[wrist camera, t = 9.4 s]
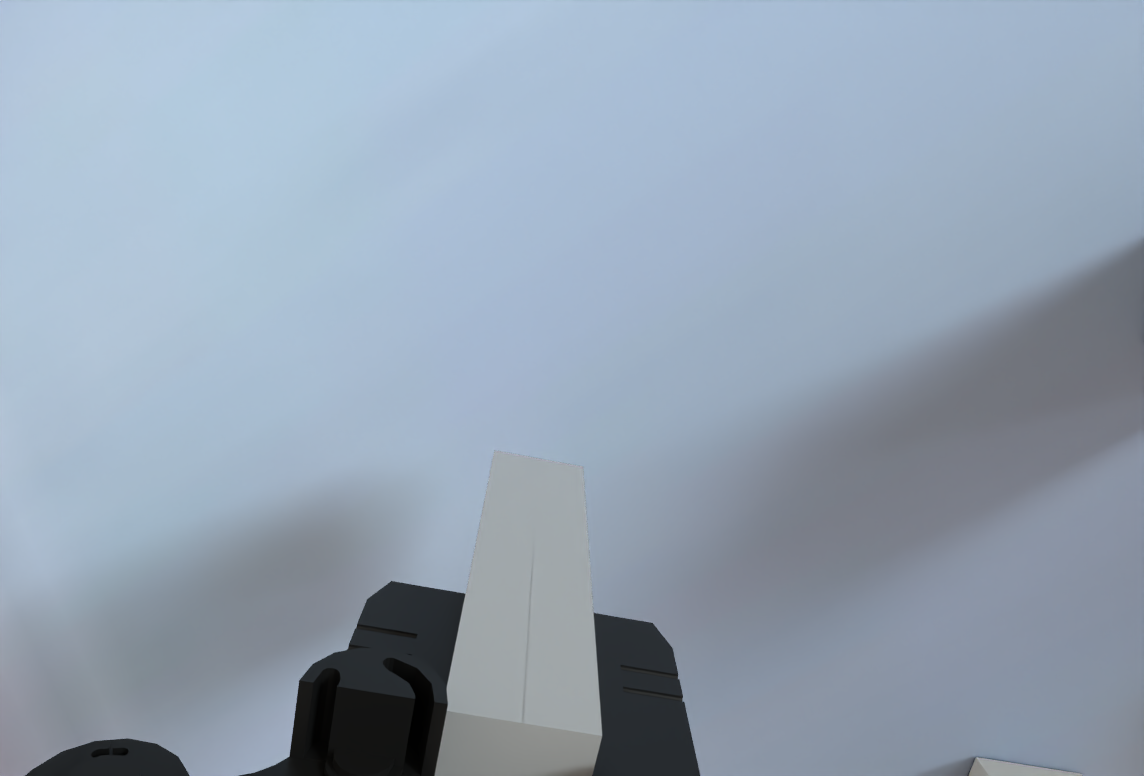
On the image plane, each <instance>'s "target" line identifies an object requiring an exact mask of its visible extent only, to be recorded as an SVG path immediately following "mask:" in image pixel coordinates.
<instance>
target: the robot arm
mask: <svg viewBox="0 0 1144 776" xmlns="http://www.w3.org/2000/svg"><path fill="white" fill-rule="evenodd" d="M682 698H683V694H682V690H681V685H680V681H679V680H678V671H677V667H676V662H675V658H674V653H673V649H672V647H671V646H670V645H669V643H668V642H667V641H666V639H665V638H664V637H663V636H662V634H661V633H660V632H659V631H658V629H657V628H656V627H655V626H654V624H653V623H649V622H643V621H637V620H631V619H625V618H620V617H614V616H608V615H602V614H596V613H594V612H593V598H592V584H591V570H590V556H589V542H588V528H587V514H586V500H585V485H584V471H583V467H582V466H577V465H572V464H566V463H561V462H555V461H550V460H544V459H539V458H534V457H528V456H523V455H517V454H512V453H506V452H501V451H496V450H494V454H493V459H492V464H491V469H490V474H489V479H488V484H487V489H486V494H485V499H484V504H483V509H482V514H481V519H480V524H479V529H478V534H477V539H476V544H475V549H474V554H473V559H472V564H471V569H470V574H469V579H468V584H467V589H466V594H463V593H457V592H452V591H446V590H440V589H434V588H428V587H422V586H417V585H411V584H405V583H399V582H393V581H391V582H390V583H388V584H387V585H386V586H384V587H383V588H382V589H380V590H379V591H378V592H376V593H375V594H374V595H372V596H371V597H370V598H368V599H367V601H366V604H365V606H364V609H363V611H362V614H361V616H360V619H359V621H358V624H357V628H356V629H355V631H354V633H353V636H352V638H351V641H350V643H349V647H348V650H346V651H341V652H336V653H333V654H331V655H329V656H327V657H326V658H324V659H322V660H320V661H318V662H316V663H314V664H313V665H312V666H311V667H310V668H309V670H308V671H307V672H306V673H305V674H304V676H303V677H302V678H301V679H300V680H299V688H298V696H297V703H296V711H295V719H294V727H293V734H292V742H291V750H290V757H288V758H287V759H285V760H283V761H281V762H280V763H278V764H276V765H274V766H271V767H269V768H266V769H263V770H260V771H258V772H255V773H251V774H245V775H240V776H700V773H699V768H698V763H697V759H696V754H695V750H694V745H693V740H692V736H691V731H690V727H689V722H688V717H687V713H686V708H685V704H684V702H682ZM25 776H189V774H188V772H187V771H186V769H185V767H184V766H183V764H182V762H181V761H180V759H179V757H178V756H176V755H175V754H173V753H171V752H169V751H168V750H166V749H164V748H163V747H161V746H159V745H158V744H154V743H149V742H143V741H138V740H133V739H117V740H104V741H94V742H91V743H88V744H85V745H82V746H78V747H75V748H72V749H69V750H66V751H63V752H61V753H59V754H57V755H56V756H54V757H52V758H51V759H49V760H47V761H46V762H44V763H43V764H41V765H39V766H38V767H36V768H34V769H33V770H31V771H30V772H29V773H28V774H27V775H25Z"/></svg>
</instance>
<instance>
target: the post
mask: <svg viewBox="0 0 1144 776" xmlns="http://www.w3.org/2000/svg"><path fill="white" fill-rule="evenodd" d="M969 776H1083V775H1082V774H1080V773H1074V772H1067V771H1061V770H1055V769H1048V768H1042V767H1036V766H1029V765H1023V764H1017V763H1010V762H1004V761H998V760H991V759H985V758H979V757H976V758H975V761H974V763H973V766H972V768H971V771H970V773H969Z"/></svg>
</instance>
